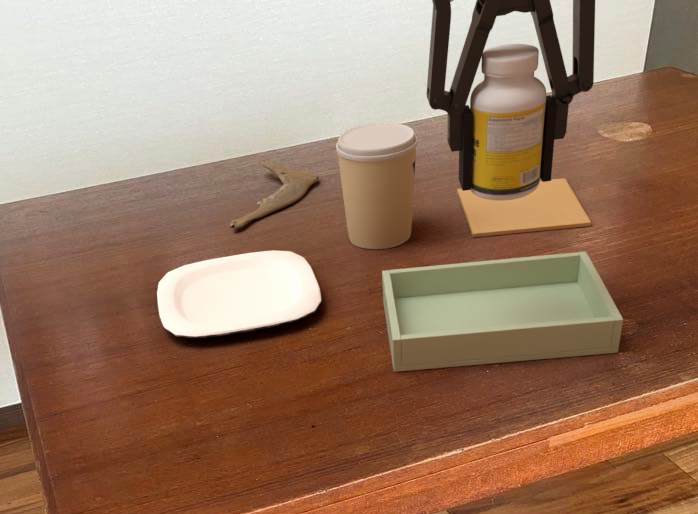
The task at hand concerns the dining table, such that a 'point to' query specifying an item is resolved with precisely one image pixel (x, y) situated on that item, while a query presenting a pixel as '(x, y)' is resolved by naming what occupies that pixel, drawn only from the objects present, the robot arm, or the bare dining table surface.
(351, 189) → the coffee cup
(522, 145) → the pill bottle
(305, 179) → the jawbone
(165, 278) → the plate
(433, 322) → the tray
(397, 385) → the dining table surface
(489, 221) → the cork mat
